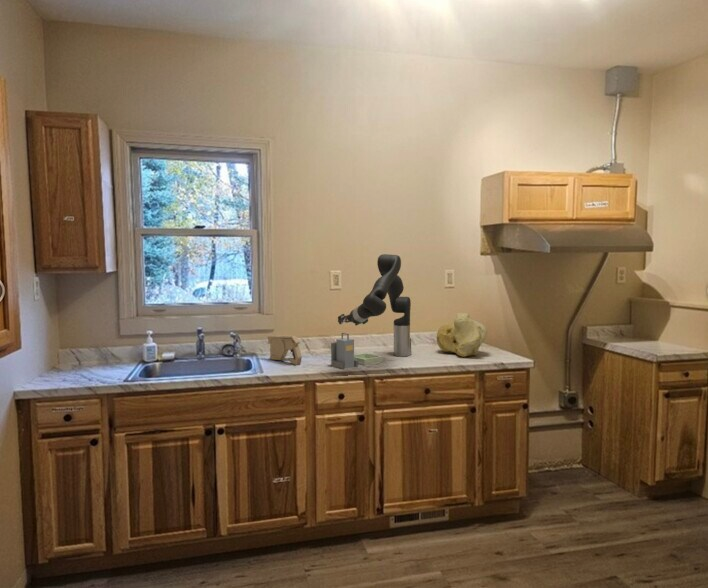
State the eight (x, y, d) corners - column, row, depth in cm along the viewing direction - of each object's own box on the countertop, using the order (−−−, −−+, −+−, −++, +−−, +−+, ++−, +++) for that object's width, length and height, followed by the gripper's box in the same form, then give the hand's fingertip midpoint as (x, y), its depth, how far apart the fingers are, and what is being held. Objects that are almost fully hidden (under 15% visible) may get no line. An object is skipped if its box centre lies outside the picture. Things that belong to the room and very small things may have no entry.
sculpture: (459, 329, 264) (434, 305, 290) (452, 371, 275) (429, 344, 301) (500, 324, 272) (472, 301, 298) (492, 365, 282) (465, 340, 308)
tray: (366, 358, 278) (366, 352, 277) (381, 362, 267) (381, 356, 267) (348, 361, 270) (348, 355, 270) (364, 365, 260) (364, 359, 260)
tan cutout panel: (302, 364, 262) (300, 335, 262) (298, 365, 260) (295, 336, 260) (273, 362, 279) (271, 335, 279) (269, 363, 277) (267, 336, 276)
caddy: (345, 364, 262) (345, 331, 261) (354, 366, 257) (354, 333, 255) (336, 366, 259) (336, 333, 257) (345, 368, 253) (344, 334, 252)
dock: (346, 363, 265) (346, 340, 264) (358, 366, 258) (357, 343, 257) (331, 365, 259) (330, 342, 258) (342, 369, 251) (342, 345, 250)
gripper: (373, 308, 243) (360, 316, 257) (346, 305, 238) (334, 314, 252) (374, 323, 241) (361, 331, 255) (346, 320, 235) (334, 329, 250)
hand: (347, 322), depth 253 cm, fingers open, 8 cm apart
